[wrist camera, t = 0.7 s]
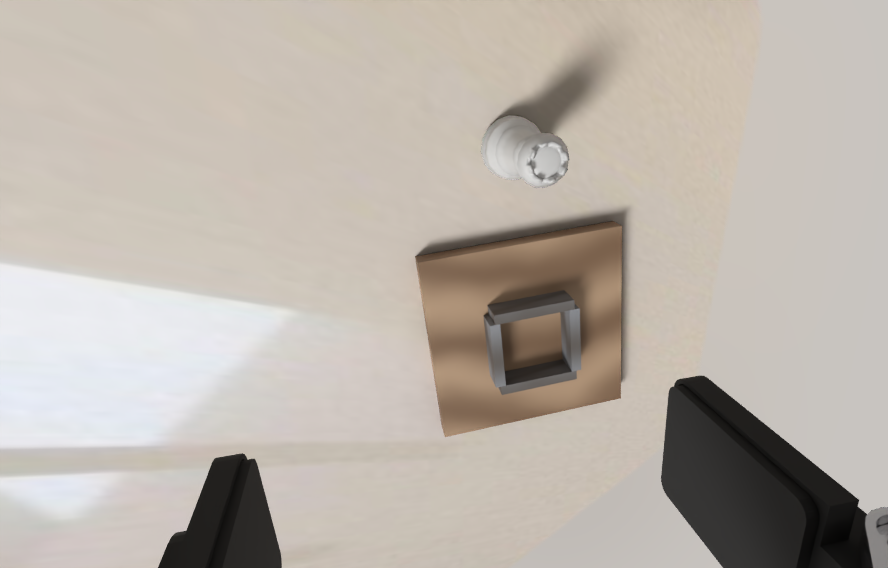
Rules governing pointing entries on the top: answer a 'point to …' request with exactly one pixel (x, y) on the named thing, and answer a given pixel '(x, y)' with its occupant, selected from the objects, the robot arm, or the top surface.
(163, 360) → the top surface
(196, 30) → the top surface
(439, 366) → the jig board
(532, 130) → the rook chess piece
